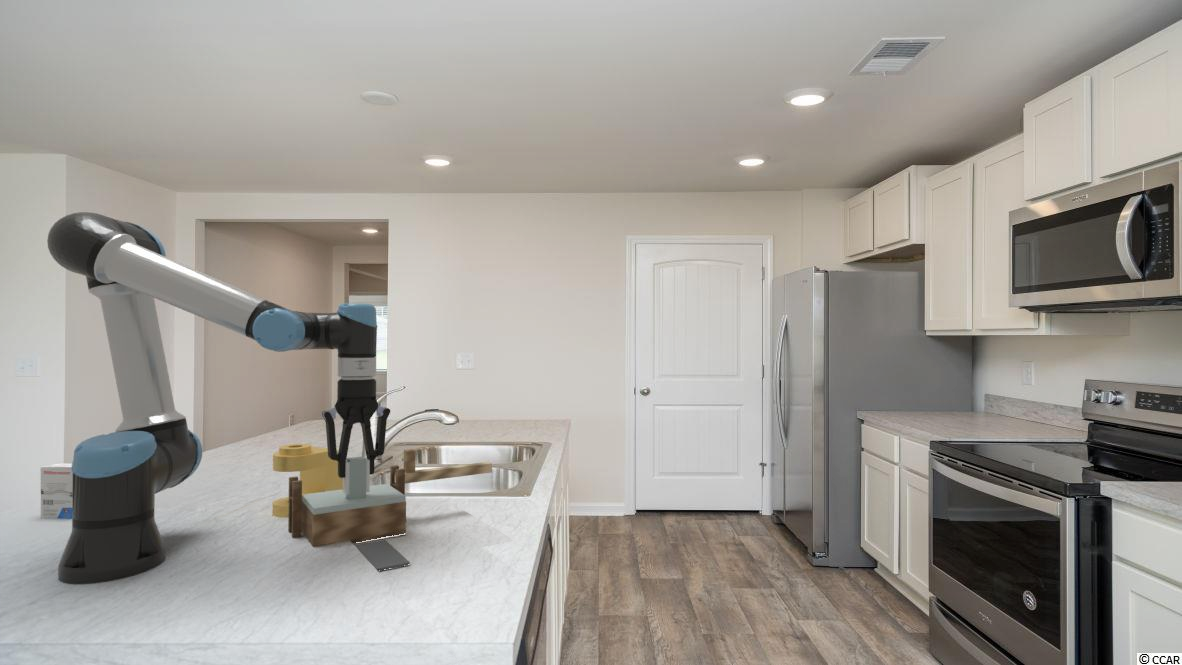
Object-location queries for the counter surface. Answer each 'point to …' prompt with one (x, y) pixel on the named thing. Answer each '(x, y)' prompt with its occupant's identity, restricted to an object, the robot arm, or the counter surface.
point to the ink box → (56, 491)
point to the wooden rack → (347, 517)
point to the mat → (382, 555)
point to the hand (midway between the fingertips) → (356, 491)
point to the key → (440, 470)
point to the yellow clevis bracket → (306, 471)
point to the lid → (353, 493)
